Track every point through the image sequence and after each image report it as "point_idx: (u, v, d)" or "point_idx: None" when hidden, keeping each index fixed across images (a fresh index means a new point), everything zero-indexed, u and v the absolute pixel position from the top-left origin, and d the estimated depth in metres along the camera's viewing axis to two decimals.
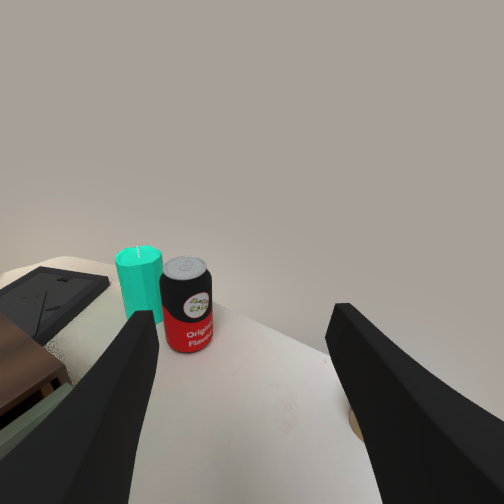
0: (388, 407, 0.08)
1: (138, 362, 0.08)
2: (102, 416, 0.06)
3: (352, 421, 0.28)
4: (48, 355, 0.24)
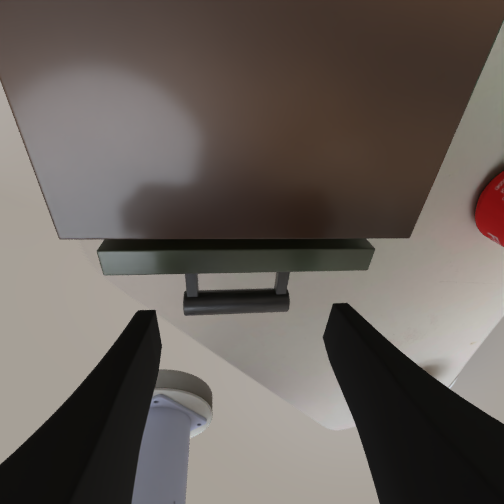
0: (385, 407, 0.08)
1: (141, 362, 0.08)
2: (107, 416, 0.06)
3: None
4: (426, 186, 0.09)
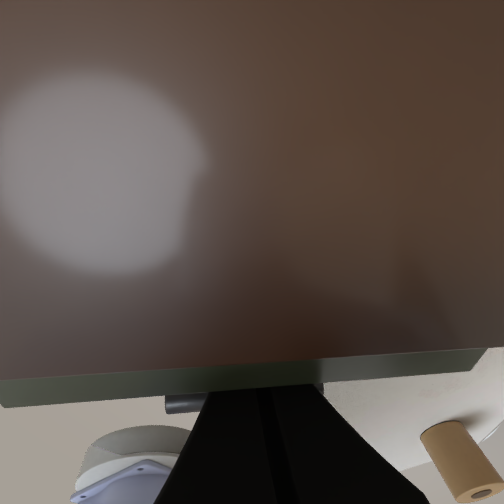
0: (268, 418, 0.07)
1: None
2: (257, 403, 0.06)
3: (443, 434, 0.26)
4: None
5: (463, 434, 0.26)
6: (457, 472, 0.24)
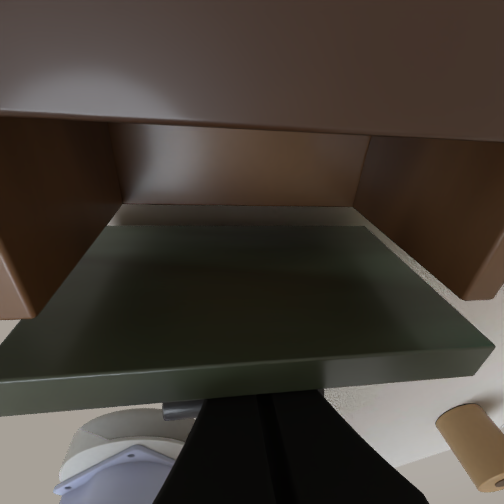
0: (268, 418, 0.07)
1: None
2: (256, 403, 0.06)
3: (461, 418, 0.24)
4: None
5: (483, 417, 0.24)
6: (479, 458, 0.22)
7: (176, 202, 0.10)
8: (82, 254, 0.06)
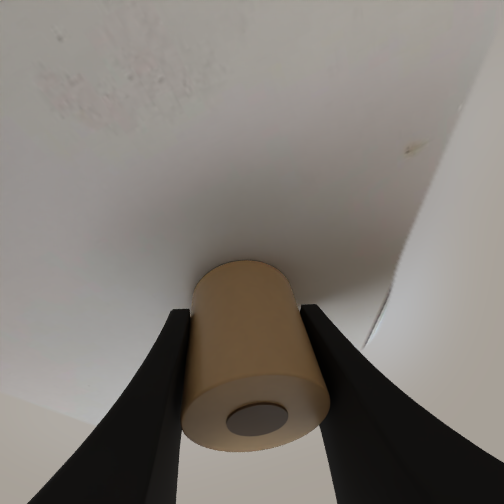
0: (342, 411, 0.08)
1: (182, 359, 0.09)
2: (163, 411, 0.06)
3: (212, 283, 0.10)
4: None
5: (259, 279, 0.10)
6: (192, 358, 0.08)
7: None
8: None
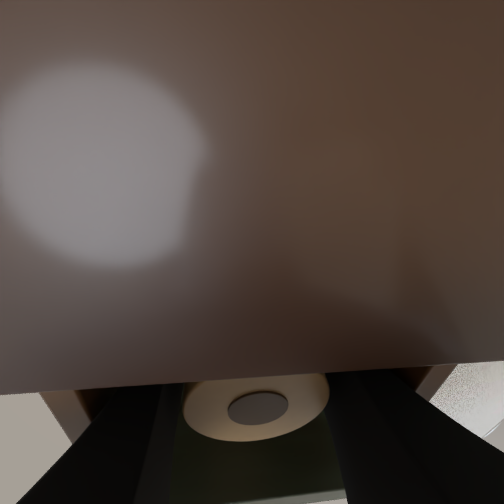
0: (353, 410, 0.08)
1: None
2: (154, 412, 0.06)
3: None
4: None
5: None
6: None
7: None
8: None
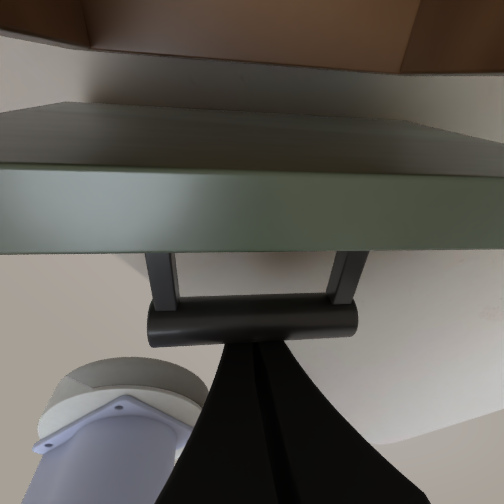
0: (269, 418, 0.07)
1: None
2: (257, 403, 0.06)
3: None
4: None
5: None
6: None
7: (164, 50, 0.07)
8: None
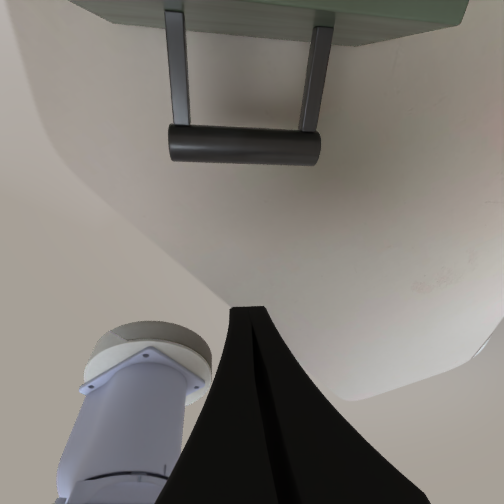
0: (269, 418, 0.07)
1: None
2: (257, 403, 0.06)
3: None
4: None
5: None
6: None
7: None
8: None
